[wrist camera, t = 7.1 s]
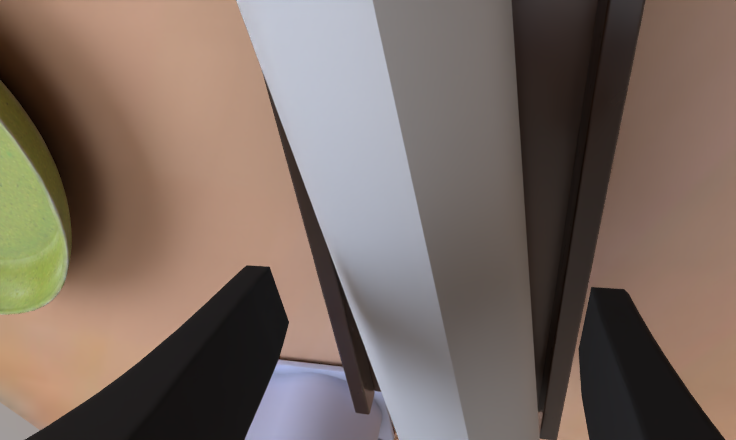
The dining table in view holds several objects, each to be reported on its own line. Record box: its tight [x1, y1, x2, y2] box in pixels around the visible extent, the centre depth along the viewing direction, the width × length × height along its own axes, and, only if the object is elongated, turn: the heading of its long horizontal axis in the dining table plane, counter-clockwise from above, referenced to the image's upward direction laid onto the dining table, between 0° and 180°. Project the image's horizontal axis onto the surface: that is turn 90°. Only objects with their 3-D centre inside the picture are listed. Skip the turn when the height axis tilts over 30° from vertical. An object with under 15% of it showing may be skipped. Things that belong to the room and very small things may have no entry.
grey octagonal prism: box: [236, 0, 540, 440], centre depth 13 cm, size 5×5×25 cm
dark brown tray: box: [262, 0, 646, 440], centre depth 16 cm, size 9×24×5 cm, turn 8°
